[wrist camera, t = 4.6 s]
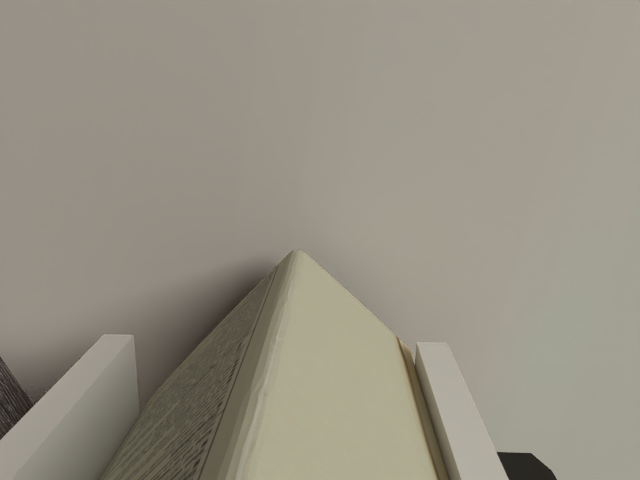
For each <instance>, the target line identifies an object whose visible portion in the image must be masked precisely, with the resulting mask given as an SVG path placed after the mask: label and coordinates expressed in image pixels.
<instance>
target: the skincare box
mask: <svg viewBox="0 0 640 480" xmlns="http://www.w3.org/2000/svg"><path fill="white" fill-rule="evenodd" d="M99 480H450V479H449V476H448V473H447V470H446V466H445V463H444V460H443V457H442V453H441V450H440V447H439V444H438V441H437V438H436V434H435V431H434V428H433V425H432V421H431V418H430V415H429V412H428V409H427V405H426V402H425V398H424V395H423V392H422V389H421V385H420V382H419V379H418V375H417V372H416V368H415V365H414V362H413V359H412V355H411V352H410V350H409V348H408V347H407V346H406V345H405V344H404V343H403V342H402V341H401V340H400V339H398V338H397V337H396V336H395V335H394V334H393V333H392V332H391V331H390V330H389V329H388V328H387V327H386V326H385V325H384V324H383V323H382V322H381V321H380V320H379V319H378V318H377V317H376V316H374V315H373V314H372V313H371V312H370V311H369V310H368V309H367V308H366V307H365V306H364V305H362V304H361V303H360V302H359V301H358V300H357V299H356V298H355V297H354V296H353V295H351V294H350V293H349V292H348V291H347V290H346V289H345V288H344V287H343V286H342V285H340V284H339V283H338V282H337V281H336V280H335V279H334V278H333V277H332V276H331V275H329V274H328V273H327V272H326V271H325V270H324V269H323V268H322V267H320V266H319V265H318V264H317V263H316V262H315V261H314V260H313V259H311V258H310V257H309V256H308V255H307V254H306V253H305V252H303V251H301V250H294V251H292V252H291V253H289V254H288V255H287V256H286V257H285V258H284V259H283V260H282V261H281V262H280V263H279V264H278V265H277V266H276V267H275V268H274V269H273V270H272V271H271V272H270V273H269V274H268V275H267V276H266V277H265V278H264V279H263V280H262V281H261V282H260V283H259V284H258V285H257V286H256V287H255V288H254V289H253V290H252V291H251V292H250V293H249V294H248V295H247V296H246V297H245V298H244V299H243V300H242V301H241V302H240V303H239V304H238V305H237V306H236V307H235V308H234V309H233V310H232V311H231V312H230V313H229V314H228V315H227V316H226V317H225V318H224V319H223V320H222V321H221V322H220V323H219V324H218V326H217V327H216V328H215V329H214V330H213V331H212V332H211V333H210V334H209V335H208V336H207V337H206V338H205V339H204V340H203V341H202V342H201V343H200V344H199V345H198V346H197V347H196V348H195V350H194V351H193V352H192V353H191V354H190V355H189V356H188V357H187V358H186V359H185V360H184V361H183V362H182V363H181V364H180V366H179V367H178V368H177V369H176V370H175V371H174V372H173V373H172V374H171V375H170V376H169V378H168V379H167V380H166V381H165V382H164V383H163V384H162V385H161V386H160V387H159V389H158V390H157V391H156V392H155V393H154V394H153V395H152V397H151V398H150V400H149V401H148V403H147V404H146V406H145V408H144V409H143V411H142V413H141V414H140V416H139V417H138V419H137V420H136V422H135V424H134V425H133V427H132V428H131V430H130V432H129V433H128V435H127V436H126V438H125V439H124V441H123V442H122V444H121V446H120V447H119V449H118V450H117V452H116V453H115V455H114V457H113V458H112V460H111V461H110V463H109V464H108V466H107V467H106V469H105V471H104V472H103V474H102V475H101V477H100V478H99Z"/></svg>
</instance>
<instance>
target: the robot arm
mask: <svg viewBox="0 0 640 480" xmlns="http://www.w3.org/2000/svg"><path fill="white" fill-rule="evenodd" d="M415 368H416V372H417V375H418V379H419V382H420V385H421V389H422V392H423V395H424V398H425V402H426V405H427V409H428V412H429V415H430V418H431V421H432V425H433V428H434V431H435V434H436V438H437V441H438V444H439V447H440V450H441V453H442V457H443V460H444V463H445V466H446V470H447V473H448V476H449V479H450V480H557V479H556V477H555V476H554V474H553V472H552V471H551V470H550V469H549V468H548V467H547V466H545V465H544V464H543V463H542V462H541V461H540V460H538V459H537V458H536V457H535V456H534V455H533V454H531V453H507V452H496V450H495V448H494V446H493V444H492V441H491V439H490V437H489V435H488V432H487V430H486V428H485V426H484V424H483V421H482V419H481V417H480V415H479V412H478V410H477V408H476V406H475V404H474V401H473V399H472V397H471V395H470V392H469V390H468V388H467V386H466V384H465V381H464V379H463V377H462V375H461V372H460V370H459V368H458V366H457V364H456V361H455V359H454V357H453V355H452V352H451V350H450V348H449V346H448V344H447V343H433V342H417V343H416V358H415ZM139 416H140V407H139V394H138V382H137V369H136V356H135V344H134V335H118V334H104V335H103V336H102V337H101V338H100V339H99V340H98V341H97V342H96V343H95V344H94V345H93V346H92V347H91V348H90V349H89V350H88V351H87V352H86V353H85V354H84V355H83V356H82V357H81V358H80V359H79V360H78V361H77V362H76V363H75V364H74V365H73V366H72V367H71V368H70V369H69V370H68V371H67V372H66V374H65V375H64V376H63V377H62V378H61V379H60V380H59V381H58V382H57V383H56V384H55V385H54V386H53V387H52V388H51V389H50V390H49V391H48V392H47V393H46V394H45V395H44V396H43V397H42V398H41V399H40V400H39V401H38V402H37V403H36V404H35V405H34V406H33V407H32V408H31V409H30V410H29V411H28V412H27V413H26V414H25V415H24V416H23V417H22V419H21V420H20V421H19V422H18V423H17V424H16V425H15V426H14V427H13V428H12V429H11V430H10V431H9V432H8V433H7V434H6V435H5V436H4V437H3V438H2V439H0V480H99V478H100V477H101V475H102V474H103V472H104V471H105V469H106V467H107V466H108V464H109V463H110V461H111V460H112V458H113V457H114V455H115V453H116V452H117V450H118V449H119V447H120V446H121V444H122V442H123V441H124V439H125V438H126V436H127V435H128V433H129V432H130V430H131V428H132V427H133V425H134V424H135V422H136V420H137V419H138V417H139Z"/></svg>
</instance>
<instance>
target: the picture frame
mask: <svg viewBox="0 0 640 480" xmlns="http://www.w3.org/2000/svg"><path fill="white" fill-rule="evenodd" d="M32 407H33V404H32V403H31V401H30V400H29V398H28V397H27V395H26V394H25V392H24V391H23V389H22V388H21V387H20V385H19V384H18V382H17V381H16V379H15V378H14V376H13V375H12V373H11V372H10V370H9V369H8V367H7V366H6V365H5V363H4V362H3V360H2V359H1V357H0V439H2V438H3V437H4V436H5V435H6V434H7V433H8V432H9V431H10V430H11V429H12V428H13V427H14V426H15V425H16V424H17V423H18V422H19V421H20V420H21V419H22V417H23V416H24V415H25V414H26V413H27V412H28V411H29V410H30V409H31V408H32Z"/></svg>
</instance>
